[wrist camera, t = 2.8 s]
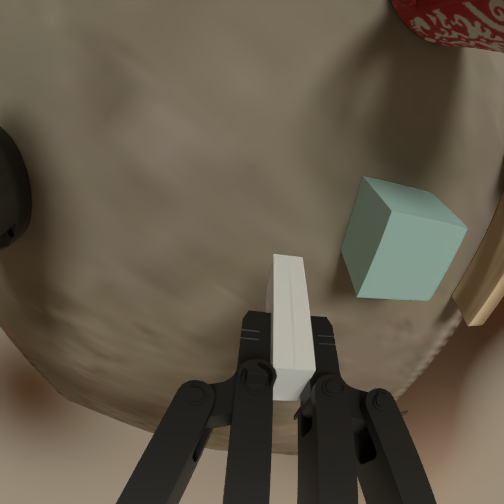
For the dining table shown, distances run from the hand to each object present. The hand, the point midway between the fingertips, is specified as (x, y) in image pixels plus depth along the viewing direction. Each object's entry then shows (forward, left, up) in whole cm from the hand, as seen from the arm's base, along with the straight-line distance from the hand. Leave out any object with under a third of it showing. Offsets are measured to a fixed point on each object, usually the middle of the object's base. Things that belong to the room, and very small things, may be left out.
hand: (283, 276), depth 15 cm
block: (+10, 0, -8) cm, 13 cm away
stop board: (+24, +2, -8) cm, 25 cm away
